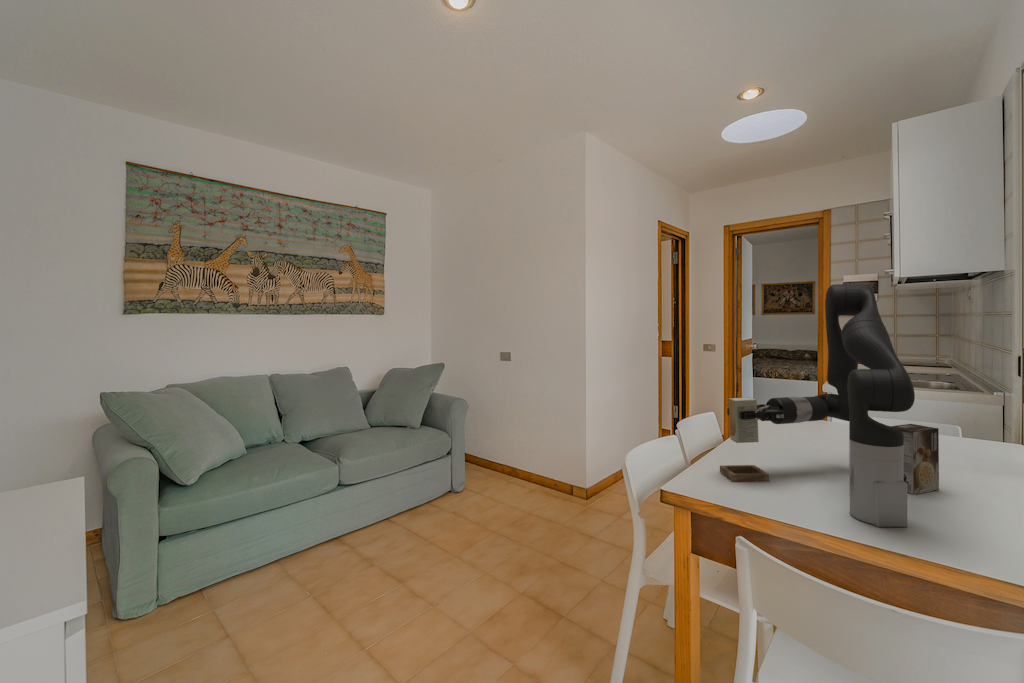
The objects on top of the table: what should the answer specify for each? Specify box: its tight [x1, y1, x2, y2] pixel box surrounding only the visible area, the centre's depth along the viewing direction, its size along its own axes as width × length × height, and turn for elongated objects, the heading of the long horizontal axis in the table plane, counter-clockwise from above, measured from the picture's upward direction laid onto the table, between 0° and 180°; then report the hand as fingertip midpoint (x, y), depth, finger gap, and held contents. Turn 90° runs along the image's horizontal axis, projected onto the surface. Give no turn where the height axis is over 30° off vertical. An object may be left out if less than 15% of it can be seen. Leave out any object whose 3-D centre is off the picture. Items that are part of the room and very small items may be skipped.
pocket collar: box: [719, 464, 770, 483], centre depth 124 cm, size 8×10×2 cm
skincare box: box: [728, 397, 760, 444], centre depth 123 cm, size 6×4×12 cm
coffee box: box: [891, 423, 940, 495], centre depth 112 cm, size 9×6×16 cm
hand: (734, 413), depth 123 cm, fingers closed on skincare box, 5 cm apart
